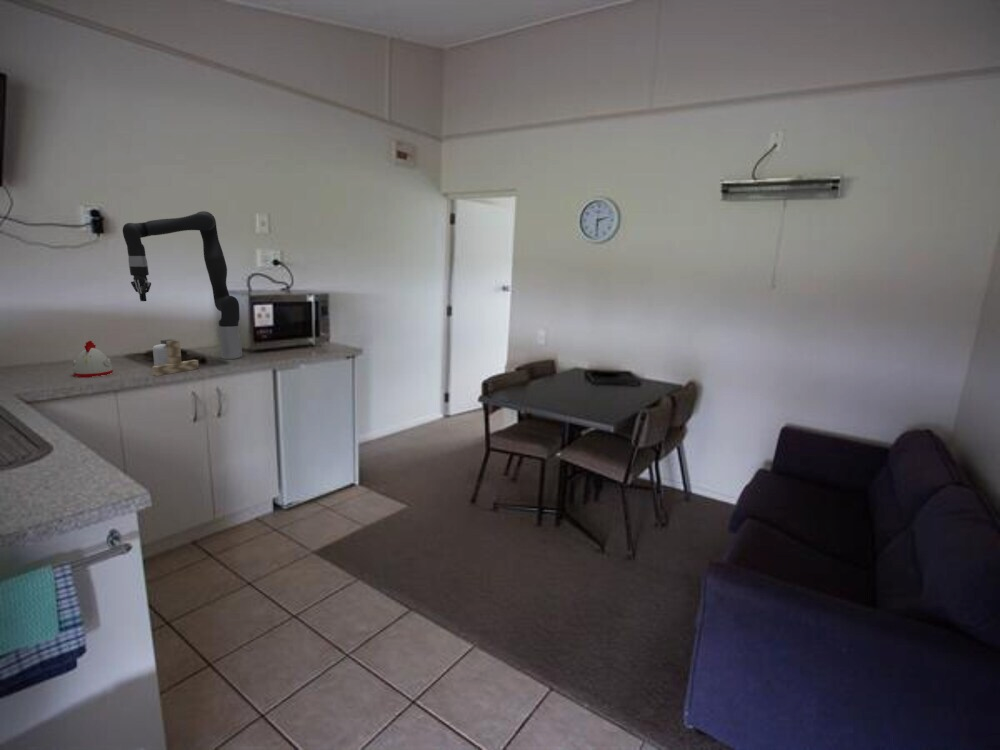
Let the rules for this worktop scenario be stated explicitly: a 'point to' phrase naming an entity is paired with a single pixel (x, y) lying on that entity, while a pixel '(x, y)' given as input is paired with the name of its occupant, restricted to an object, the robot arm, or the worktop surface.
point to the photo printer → (160, 354)
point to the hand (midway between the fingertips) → (143, 301)
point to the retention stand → (174, 360)
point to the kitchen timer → (91, 362)
